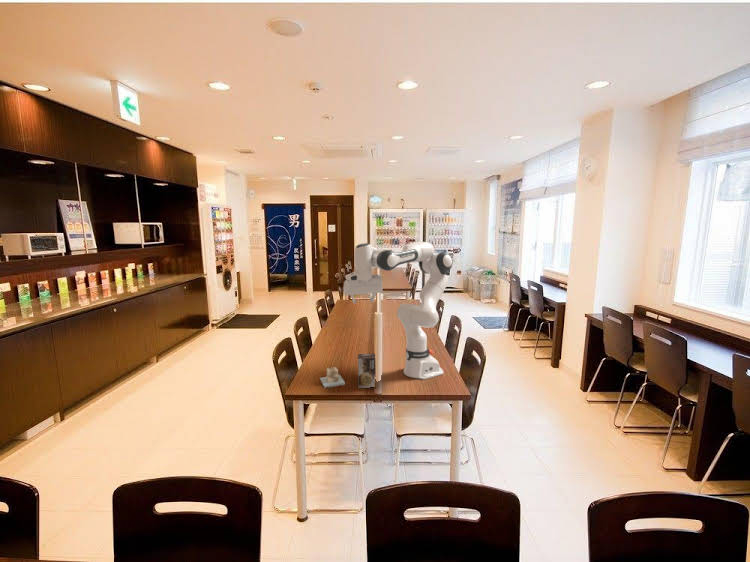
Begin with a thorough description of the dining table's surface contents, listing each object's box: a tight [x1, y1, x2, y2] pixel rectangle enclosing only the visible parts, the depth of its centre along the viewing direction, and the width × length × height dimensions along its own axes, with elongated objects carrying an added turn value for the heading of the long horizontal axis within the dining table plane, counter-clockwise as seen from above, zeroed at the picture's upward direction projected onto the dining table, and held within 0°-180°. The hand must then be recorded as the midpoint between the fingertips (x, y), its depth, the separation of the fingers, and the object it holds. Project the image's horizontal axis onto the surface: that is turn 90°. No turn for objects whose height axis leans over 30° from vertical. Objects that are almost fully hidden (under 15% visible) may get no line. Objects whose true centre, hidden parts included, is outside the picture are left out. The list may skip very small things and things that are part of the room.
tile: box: [319, 374, 346, 389], centre depth 186 cm, size 11×11×1 cm
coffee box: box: [357, 353, 377, 389], centre depth 181 cm, size 9×6×16 cm
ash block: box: [326, 366, 339, 383], centre depth 186 cm, size 5×5×6 cm
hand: (363, 302), depth 181 cm, fingers open, 8 cm apart
